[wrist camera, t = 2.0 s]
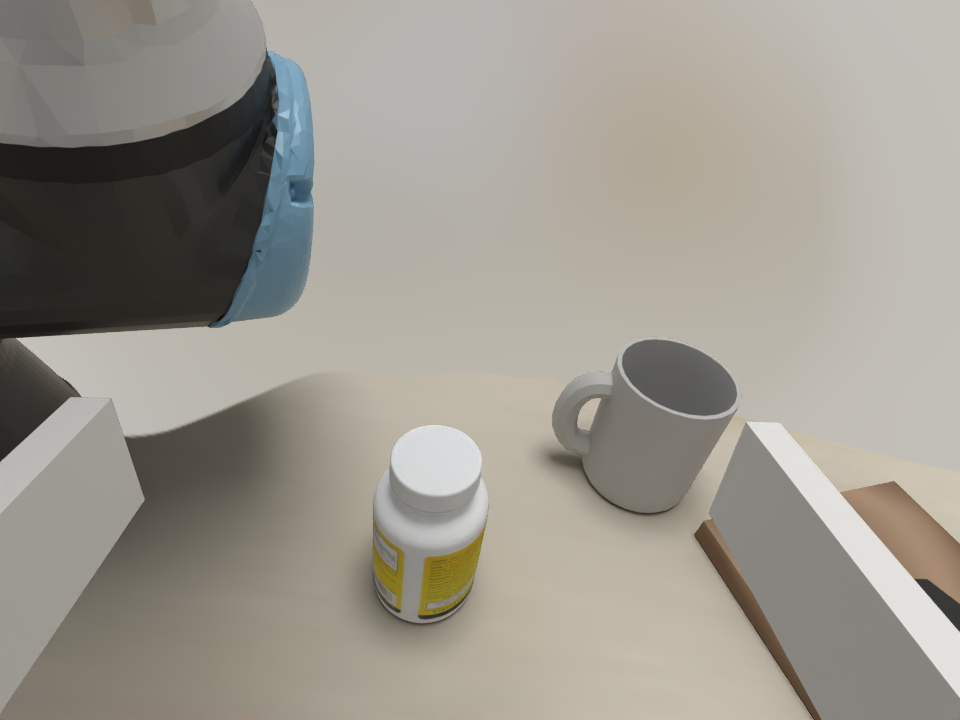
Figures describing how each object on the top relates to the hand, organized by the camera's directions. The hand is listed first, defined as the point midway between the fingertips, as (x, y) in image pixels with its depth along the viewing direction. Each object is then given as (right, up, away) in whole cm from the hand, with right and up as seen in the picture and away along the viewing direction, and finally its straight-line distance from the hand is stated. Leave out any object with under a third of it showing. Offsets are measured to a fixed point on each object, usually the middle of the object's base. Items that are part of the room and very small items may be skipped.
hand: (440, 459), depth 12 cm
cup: (+10, -5, +25) cm, 28 cm away
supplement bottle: (-2, -10, +18) cm, 20 cm away
